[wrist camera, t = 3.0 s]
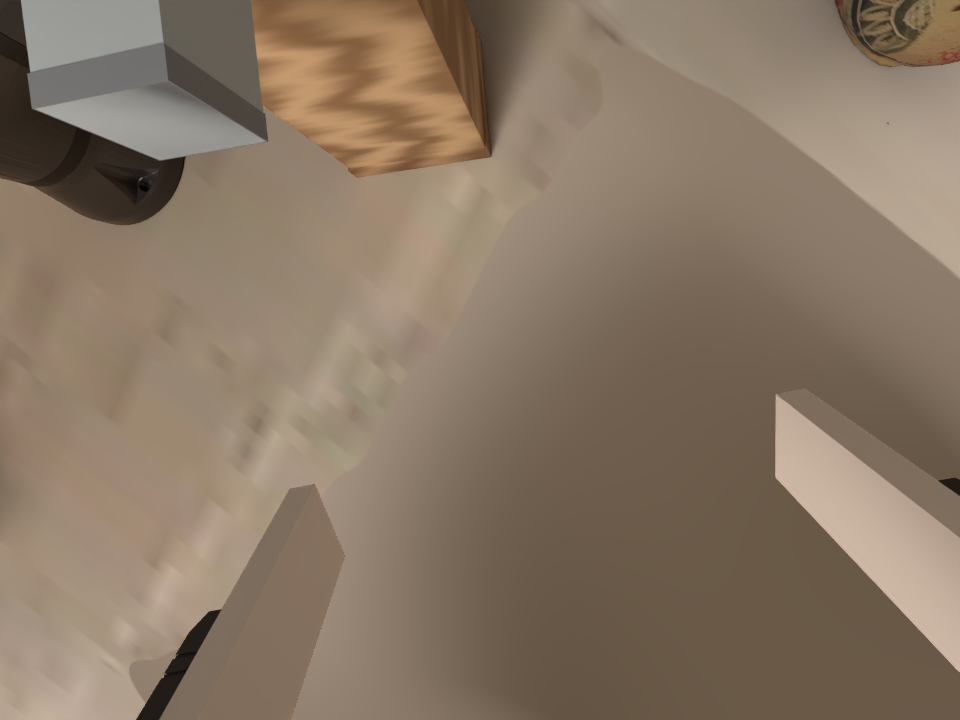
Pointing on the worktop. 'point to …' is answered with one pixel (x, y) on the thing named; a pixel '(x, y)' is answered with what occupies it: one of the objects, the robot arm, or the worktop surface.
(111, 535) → the worktop surface
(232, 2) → the foil box
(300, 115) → the oak box
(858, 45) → the ceramic jug
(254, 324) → the worktop surface
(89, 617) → the worktop surface
